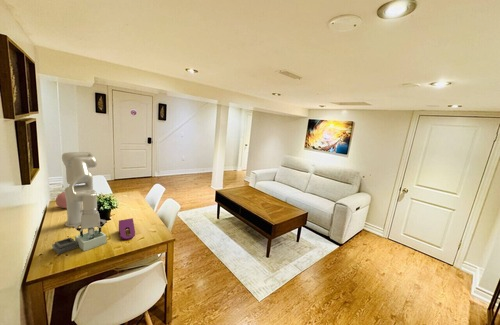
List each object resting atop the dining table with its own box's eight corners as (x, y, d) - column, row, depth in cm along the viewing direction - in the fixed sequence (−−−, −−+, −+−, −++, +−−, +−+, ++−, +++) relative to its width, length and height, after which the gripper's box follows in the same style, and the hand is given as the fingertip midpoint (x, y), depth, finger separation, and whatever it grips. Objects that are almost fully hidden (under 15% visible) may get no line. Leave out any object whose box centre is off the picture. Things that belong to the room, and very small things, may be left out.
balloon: (83, 208, 194) (83, 192, 192) (54, 211, 182) (53, 195, 180) (84, 203, 206) (83, 188, 204) (57, 206, 194) (56, 190, 192)
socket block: (52, 248, 132) (52, 242, 131) (72, 242, 140) (71, 236, 139) (58, 254, 126) (57, 247, 126) (78, 247, 135) (77, 241, 134)
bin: (75, 244, 138) (75, 236, 137) (97, 236, 149) (97, 229, 149) (83, 251, 132) (83, 242, 131) (106, 242, 143) (106, 234, 142)
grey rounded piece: (86, 245, 137) (86, 226, 136) (87, 241, 141) (86, 224, 140) (95, 243, 140) (95, 225, 138) (95, 240, 144) (95, 222, 142)
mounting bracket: (135, 243, 155) (132, 225, 167) (136, 236, 151) (132, 218, 163) (120, 246, 149) (118, 227, 161) (121, 239, 145) (118, 220, 157)
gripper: (72, 215, 129) (74, 240, 131) (106, 210, 140) (106, 233, 142) (73, 211, 134) (74, 235, 137) (105, 206, 145) (105, 229, 148)
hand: (91, 234), depth 140 cm, fingers open, 9 cm apart
